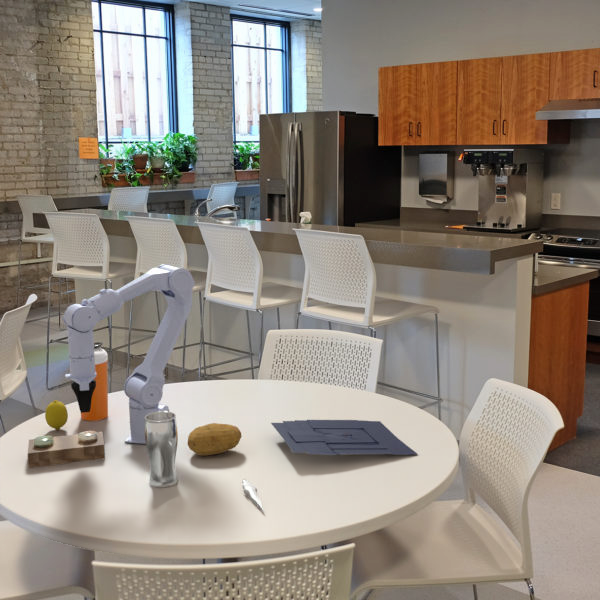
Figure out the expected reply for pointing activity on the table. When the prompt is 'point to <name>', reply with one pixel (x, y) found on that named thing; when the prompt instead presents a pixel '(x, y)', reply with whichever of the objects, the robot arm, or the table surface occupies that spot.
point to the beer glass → (161, 447)
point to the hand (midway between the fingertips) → (85, 411)
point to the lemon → (56, 415)
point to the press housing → (66, 451)
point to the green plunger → (43, 441)
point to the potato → (213, 438)
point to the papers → (340, 437)
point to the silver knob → (87, 436)
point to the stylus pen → (252, 493)
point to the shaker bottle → (99, 387)
